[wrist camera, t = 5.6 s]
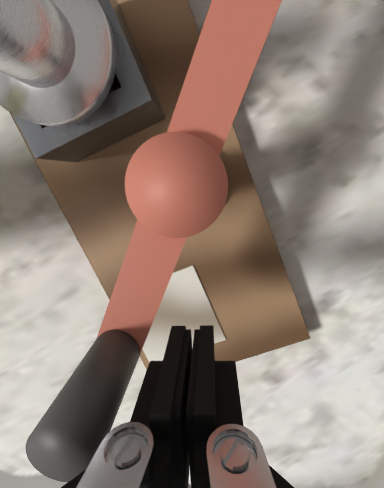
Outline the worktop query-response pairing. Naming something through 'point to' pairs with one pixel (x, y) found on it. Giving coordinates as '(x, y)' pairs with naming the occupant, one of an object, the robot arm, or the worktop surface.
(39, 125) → the block
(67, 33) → the peg
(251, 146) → the worktop surface
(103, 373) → the lever
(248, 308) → the board
